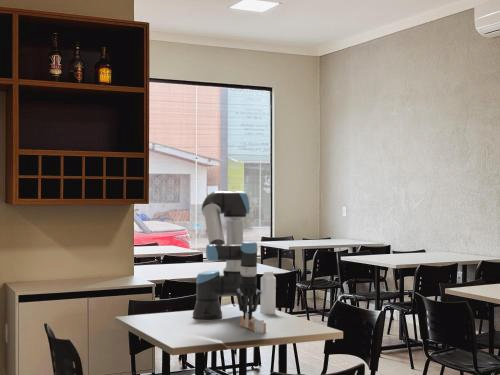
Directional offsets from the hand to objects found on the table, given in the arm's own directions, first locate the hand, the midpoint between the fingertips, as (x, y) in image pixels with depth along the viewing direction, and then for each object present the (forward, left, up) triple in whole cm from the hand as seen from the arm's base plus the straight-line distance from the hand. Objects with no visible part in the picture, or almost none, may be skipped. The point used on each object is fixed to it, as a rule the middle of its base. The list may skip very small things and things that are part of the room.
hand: (247, 326), depth 320 cm
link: (0, +4, -1) cm, 4 cm away
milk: (-26, +44, -3) cm, 51 cm away
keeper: (+7, -1, -1) cm, 8 cm away
